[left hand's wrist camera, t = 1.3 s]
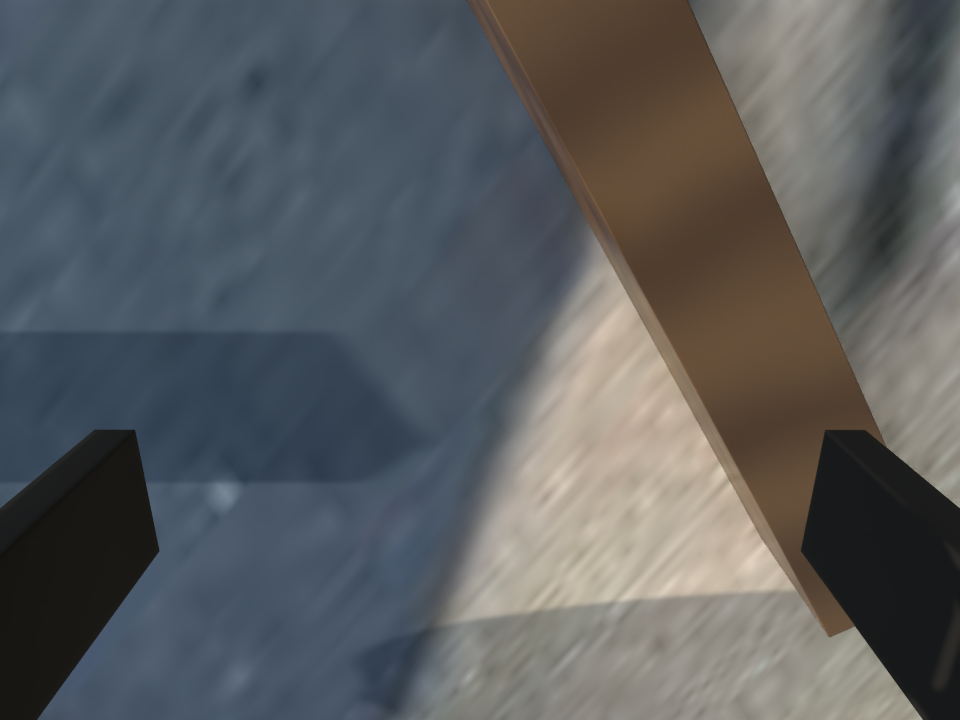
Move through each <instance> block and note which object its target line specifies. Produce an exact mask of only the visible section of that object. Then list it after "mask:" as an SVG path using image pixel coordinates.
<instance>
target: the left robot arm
mask: <svg viewBox="0 0 960 720" xmlns="http://www.w3.org/2000/svg"><path fill="white" fill-rule="evenodd" d="M158 552H159V547H158V542H157V537H156V532H155V527H154V522H153V517H152V512H151V507H150V502H149V497H148V492H147V487H146V482H145V477H144V472H143V467H142V462H141V457H140V452H139V447H138V442H137V438H136V433H135V430H94V431H93V432H92V433H90V434H89V435H88V436H87V437H86V438H84V439H83V440H82V441H81V442H80V443H78V444H77V445H76V446H75V447H73V448H72V449H71V450H70V451H69V452H67V453H66V454H65V455H64V456H63V457H61V458H60V459H59V460H58V461H57V462H55V463H54V464H53V465H52V466H51V467H49V468H48V469H47V470H46V471H45V472H43V473H42V474H41V475H40V476H39V477H37V478H36V479H35V480H34V481H33V482H31V483H30V484H29V485H28V486H27V487H25V488H24V489H23V490H22V491H21V492H19V493H18V494H17V495H16V496H15V497H13V498H12V499H11V500H10V501H9V502H7V503H6V504H5V505H4V506H3V507H1V508H0V720H37V719H38V718H39V716H40V715H41V713H42V712H43V711H44V709H45V708H46V707H47V705H48V704H49V702H50V701H51V700H52V698H53V697H54V696H55V694H56V693H57V691H58V690H59V689H60V687H61V686H62V685H63V683H64V682H65V680H66V679H67V678H68V676H69V675H70V673H71V672H72V671H73V669H74V668H75V667H76V665H77V664H78V662H79V661H80V660H81V658H82V657H83V656H84V654H85V653H86V651H87V650H88V649H89V647H90V646H91V645H92V643H93V642H94V640H95V639H96V638H97V636H98V635H99V634H100V632H101V631H102V629H103V628H104V627H105V625H106V624H107V623H108V621H109V620H110V618H111V617H112V616H113V614H114V613H115V611H116V610H117V609H118V607H119V606H120V605H121V603H122V602H123V600H124V599H125V598H126V596H127V595H128V594H129V592H130V591H131V589H132V588H133V587H134V585H135V584H136V583H137V581H138V580H139V578H140V577H141V576H142V574H143V573H144V572H145V570H146V569H147V567H148V566H149V565H150V563H151V562H152V561H153V559H154V558H155V556H156V555H157V554H158ZM801 552H802V554H803V555H804V556H805V558H806V559H807V561H808V562H809V563H810V565H811V566H812V567H813V569H814V570H815V572H816V573H817V574H818V576H819V577H820V578H821V580H822V581H823V583H824V584H825V585H826V587H827V588H828V589H829V591H830V592H831V594H832V595H833V596H834V598H835V599H836V600H837V602H838V603H839V605H840V606H841V607H842V609H843V610H844V611H845V613H846V614H847V616H848V617H849V618H850V620H851V621H852V623H853V624H854V625H855V627H856V628H857V629H858V631H859V632H860V634H861V635H862V636H863V638H864V639H865V640H866V642H867V643H868V645H869V646H870V647H871V649H872V650H873V651H874V653H875V654H876V656H877V657H878V658H879V660H880V661H881V662H882V664H883V665H884V667H885V668H886V669H887V671H888V672H889V673H890V675H891V676H892V678H893V679H894V680H895V682H896V683H897V685H898V686H899V687H900V689H901V690H902V691H903V693H904V694H905V696H906V697H907V698H908V700H909V701H910V702H911V704H912V705H913V707H914V708H915V709H916V711H917V712H918V713H919V715H920V716H921V718H922V719H923V720H960V508H959V507H957V506H956V505H955V504H954V503H953V502H951V501H950V500H949V499H948V498H947V497H945V496H944V495H943V494H942V493H941V492H939V491H938V490H937V489H936V488H935V487H933V486H932V485H931V484H930V483H929V482H927V481H926V480H925V479H924V478H923V477H921V476H920V475H919V474H918V473H917V472H915V471H914V470H913V469H912V468H911V467H909V466H908V465H907V464H906V463H905V462H903V461H902V460H901V459H900V458H899V457H897V456H896V455H895V454H894V453H893V452H891V451H890V450H889V449H888V448H887V447H885V446H884V445H883V444H882V443H880V442H879V441H878V440H877V439H876V438H874V437H873V436H872V435H871V434H870V433H868V432H867V431H866V430H825V433H824V438H823V443H822V447H821V452H820V457H819V462H818V467H817V472H816V477H815V482H814V487H813V492H812V497H811V502H810V507H809V512H808V517H807V522H806V527H805V532H804V537H803V542H802V547H801Z"/></svg>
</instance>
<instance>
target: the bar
mask: <svg viewBox="0 0 960 720" xmlns="http://www.w3.org/2000/svg"><path fill="white" fill-rule="evenodd" d="M467 2H468V4H469V6H470V8H471V9H472V11H473V13H474V15H475V17H476V18H477V20H478V22H479V24H480V26H481V28H482V29H483V31H484V33H485V35H486V37H487V39H488V40H489V42H490V44H491V46H492V48H493V49H494V51H495V53H496V55H497V57H498V59H499V60H500V62H501V64H502V66H503V68H504V70H505V71H506V73H507V75H508V77H509V79H510V80H511V82H512V84H513V86H514V88H515V90H516V91H517V93H518V95H519V97H520V99H521V101H522V102H523V104H524V106H525V108H526V110H527V112H528V113H529V115H530V117H531V119H532V121H533V122H534V124H535V126H536V128H537V130H538V132H539V133H540V135H541V137H542V139H543V141H544V143H545V144H546V146H547V148H548V150H549V152H550V153H551V155H552V157H553V159H554V161H555V163H556V164H557V166H558V168H559V170H560V172H561V174H562V175H563V177H564V179H565V181H566V183H567V184H568V186H569V188H570V190H571V192H572V194H573V195H574V197H575V199H576V201H577V203H578V205H579V206H580V208H581V210H582V212H583V214H584V216H585V217H586V219H587V221H588V223H589V225H590V226H591V228H592V230H593V232H594V234H595V236H596V237H597V239H598V241H599V243H600V245H601V247H602V248H603V250H604V252H605V254H606V256H607V257H608V259H609V261H610V263H611V265H612V267H613V268H614V270H615V272H616V274H617V276H618V278H619V279H620V281H621V283H622V285H623V287H624V288H625V290H626V292H627V294H628V296H629V298H630V299H631V301H632V303H633V305H634V307H635V309H636V310H637V312H638V314H639V316H640V318H641V320H642V321H643V323H644V325H645V327H646V329H647V330H648V332H649V334H650V336H651V338H652V340H653V341H654V343H655V345H656V347H657V349H658V351H659V352H660V354H661V356H662V358H663V360H664V361H665V363H666V365H667V367H668V369H669V371H670V372H671V374H672V376H673V378H674V380H675V382H676V383H677V385H678V387H679V389H680V391H681V392H682V394H683V396H684V398H685V400H686V402H687V403H688V405H689V407H690V409H691V411H692V413H693V414H694V416H695V418H696V420H697V422H698V424H699V425H700V427H701V429H702V431H703V433H704V434H705V436H706V438H707V440H708V442H709V444H710V445H711V447H712V449H713V451H714V453H715V455H716V456H717V458H718V460H719V462H720V464H721V465H722V467H723V469H724V471H725V473H726V475H727V476H728V478H729V480H730V482H731V484H732V486H733V487H734V489H735V491H736V493H737V495H738V496H739V498H740V500H741V502H742V504H743V506H744V507H745V509H746V511H747V513H748V515H749V517H750V518H751V520H752V522H753V524H754V526H755V528H756V529H757V531H758V533H759V535H760V537H761V538H762V540H763V541H764V543H765V544H766V546H767V547H768V549H769V550H770V552H771V553H772V555H773V556H774V558H775V559H776V560H777V562H778V563H779V565H780V566H781V568H782V569H783V571H784V572H785V574H786V575H787V577H788V578H789V580H790V581H791V583H792V584H793V585H794V587H795V588H796V590H797V591H798V593H799V594H800V596H801V597H802V599H803V600H804V602H805V603H806V605H807V606H808V607H809V609H810V610H811V612H812V613H813V615H814V616H815V618H816V619H817V621H818V622H819V624H820V625H821V627H822V628H823V629H824V631H825V632H826V634H827V635H828V637H832V636H834V635H836V634H838V633H841V632H843V631H845V630H847V629H850V628H852V627H854V626H855V625H854V624H853V623H852V621H851V620H850V618H849V617H848V616H847V614H846V613H845V611H844V610H843V609H842V607H841V606H840V605H839V603H838V602H837V600H836V599H835V598H834V596H833V595H832V594H831V592H830V591H829V589H828V588H827V587H826V585H825V584H824V583H823V581H822V580H821V578H820V577H819V576H818V574H817V573H816V572H815V570H814V569H813V567H812V566H811V565H810V563H809V562H808V561H807V559H806V558H805V556H804V555H803V554H802V552H801V547H802V542H803V537H804V532H805V527H806V522H807V517H808V512H809V507H810V502H811V497H812V492H813V487H814V482H815V477H816V472H817V467H818V462H819V457H820V452H821V447H822V443H823V438H824V433H825V430H866V431H867V432H868V433H870V434H871V435H872V436H873V437H874V438H876V439H877V440H878V441H879V442H880V443H882V444H883V445H884V446H885V447H886V445H885V443H884V440H883V438H882V436H881V434H880V431H879V429H878V427H877V425H876V422H875V420H874V418H873V416H872V413H871V411H870V409H869V407H868V404H867V402H866V400H865V398H864V395H863V393H862V391H861V389H860V387H859V384H858V382H857V380H856V378H855V375H854V373H853V371H852V369H851V366H850V364H849V362H848V360H847V357H846V355H845V353H844V351H843V348H842V346H841V344H840V342H839V339H838V337H837V335H836V333H835V330H834V328H833V326H832V324H831V321H830V319H829V317H828V315H827V312H826V310H825V308H824V306H823V303H822V301H821V299H820V297H819V294H818V292H817V290H816V288H815V285H814V283H813V281H812V279H811V276H810V274H809V272H808V270H807V267H806V265H805V263H804V261H803V258H802V256H801V254H800V252H799V249H798V247H797V245H796V243H795V240H794V238H793V236H792V234H791V231H790V229H789V227H788V225H787V222H786V220H785V218H784V216H783V213H782V211H781V209H780V207H779V204H778V202H777V200H776V198H775V195H774V193H773V191H772V189H771V186H770V184H769V182H768V180H767V177H766V175H765V173H764V171H763V168H762V166H761V164H760V162H759V159H758V157H757V155H756V153H755V150H754V148H753V146H752V144H751V141H750V139H749V137H748V135H747V132H746V130H745V128H744V126H743V123H742V121H741V119H740V117H739V114H738V112H737V110H736V108H735V106H734V103H733V101H732V99H731V97H730V94H729V92H728V90H727V88H726V85H725V83H724V81H723V79H722V76H721V74H720V72H719V70H718V67H717V65H716V63H715V61H714V58H713V56H712V54H711V52H710V49H709V47H708V45H707V43H706V40H705V38H704V36H703V34H702V31H701V29H700V27H699V25H698V22H697V20H696V18H695V16H694V13H693V11H692V9H691V7H690V4H689V2H688V0H467Z"/></svg>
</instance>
